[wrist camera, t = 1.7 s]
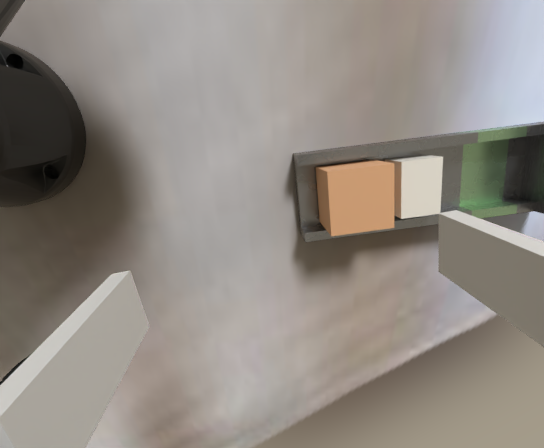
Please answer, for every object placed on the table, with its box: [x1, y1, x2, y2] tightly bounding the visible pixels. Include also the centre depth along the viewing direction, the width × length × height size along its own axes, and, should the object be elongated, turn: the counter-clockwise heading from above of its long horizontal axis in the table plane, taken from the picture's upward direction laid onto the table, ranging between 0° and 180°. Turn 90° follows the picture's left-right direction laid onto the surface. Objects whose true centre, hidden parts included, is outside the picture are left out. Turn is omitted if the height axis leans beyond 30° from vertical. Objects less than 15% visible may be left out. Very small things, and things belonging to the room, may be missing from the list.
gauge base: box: [293, 122, 544, 242], centre depth 30 cm, size 28×9×7 cm, turn 97°
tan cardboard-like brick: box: [315, 159, 394, 236], centre depth 29 cm, size 6×6×5 cm
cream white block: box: [385, 155, 443, 219], centre depth 30 cm, size 4×6×4 cm
